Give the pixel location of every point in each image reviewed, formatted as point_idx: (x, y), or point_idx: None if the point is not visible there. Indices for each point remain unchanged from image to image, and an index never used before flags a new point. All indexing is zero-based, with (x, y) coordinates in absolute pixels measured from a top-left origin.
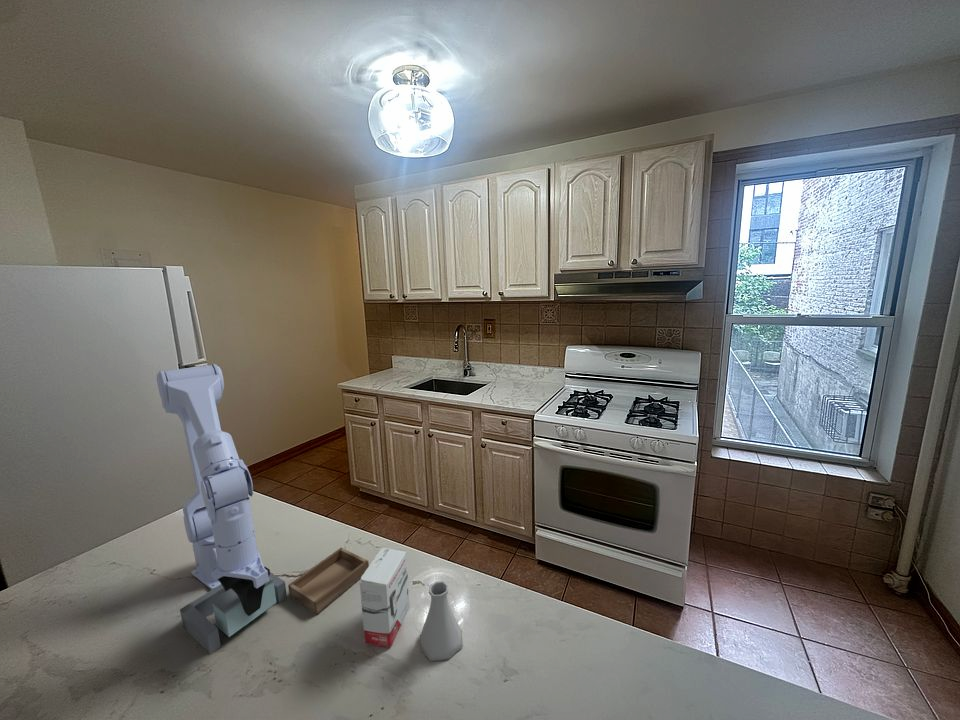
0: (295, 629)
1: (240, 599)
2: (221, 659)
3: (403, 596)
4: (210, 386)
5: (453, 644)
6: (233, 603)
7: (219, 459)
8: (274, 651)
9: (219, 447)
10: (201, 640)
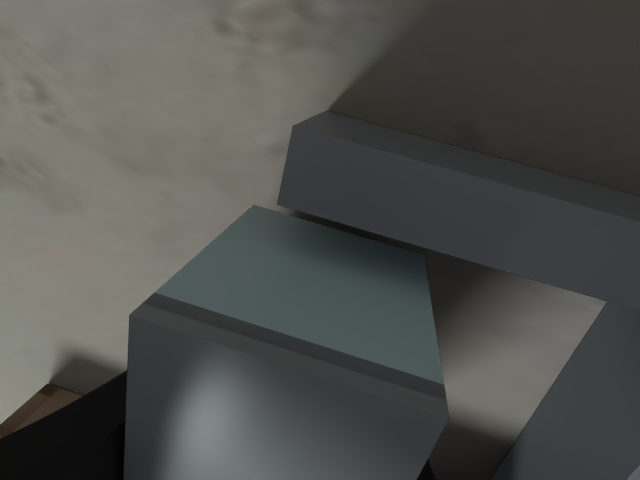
0: (62, 316)
1: (66, 449)
2: (230, 102)
3: None
4: None
5: None
6: (154, 403)
7: None
8: (35, 210)
9: None
10: (438, 146)
